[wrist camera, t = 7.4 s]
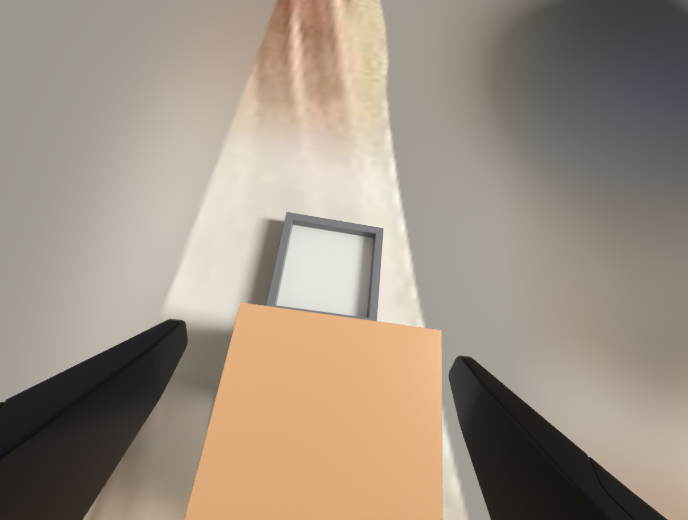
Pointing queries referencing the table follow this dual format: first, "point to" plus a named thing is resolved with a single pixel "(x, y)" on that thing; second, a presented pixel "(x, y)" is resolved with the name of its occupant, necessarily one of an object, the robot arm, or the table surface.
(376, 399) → the block
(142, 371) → the robot arm
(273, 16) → the table surface
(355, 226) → the organiser
